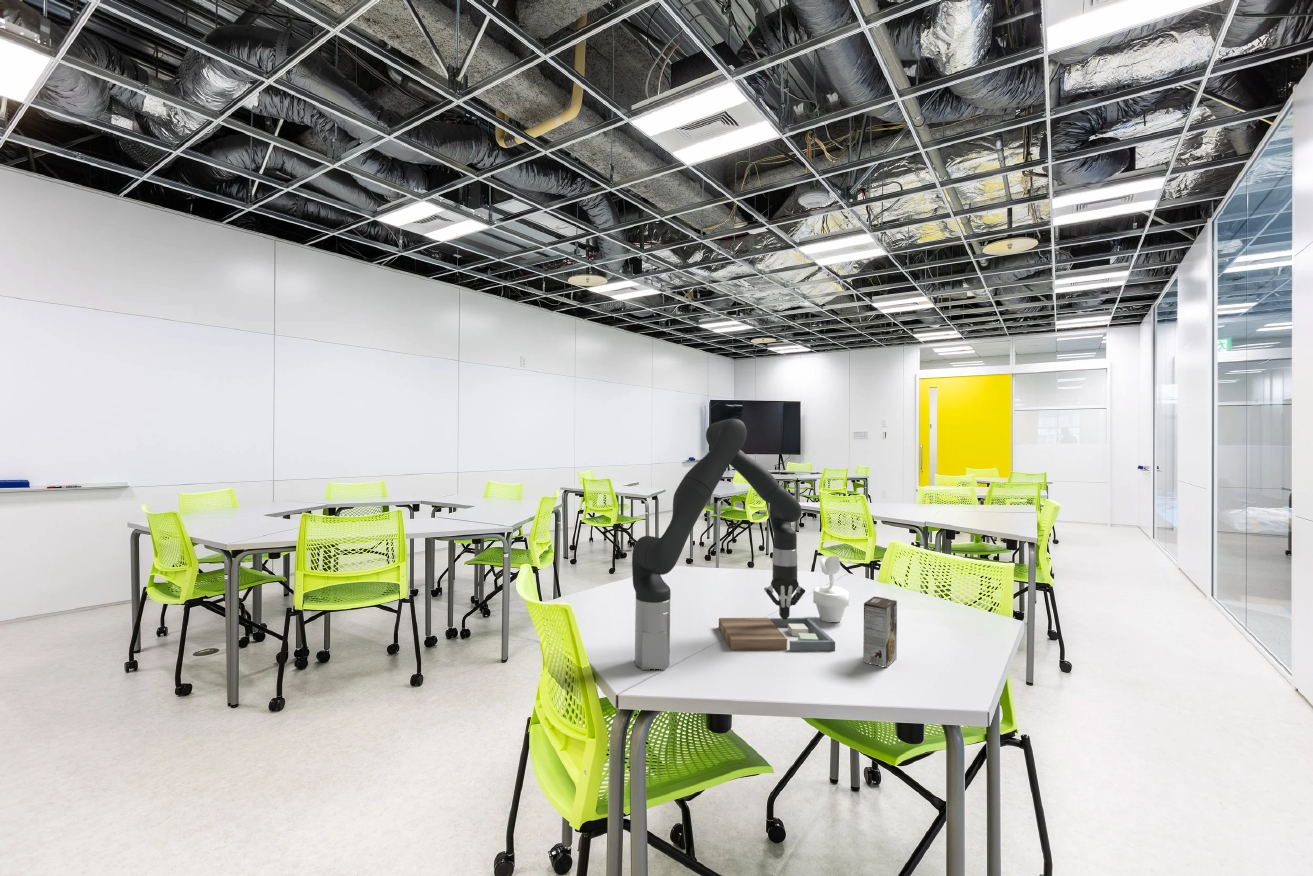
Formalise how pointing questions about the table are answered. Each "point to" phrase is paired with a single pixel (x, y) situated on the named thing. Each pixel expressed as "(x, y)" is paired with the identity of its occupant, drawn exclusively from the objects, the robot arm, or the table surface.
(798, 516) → the robot arm
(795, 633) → the tile cream
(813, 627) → the tray
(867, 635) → the coffee box
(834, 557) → the potted plant
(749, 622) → the board
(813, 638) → the tile sage
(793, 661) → the table surface
